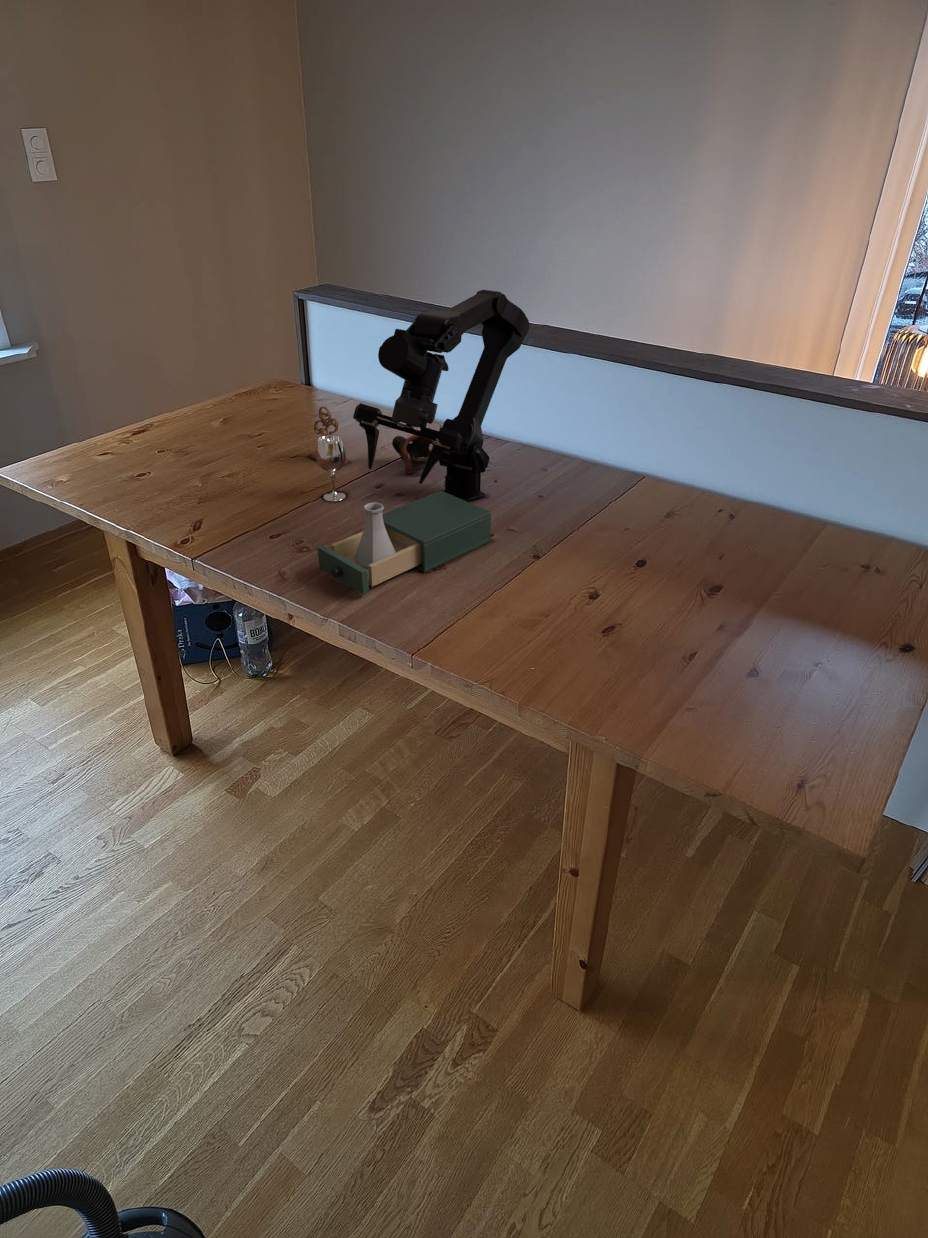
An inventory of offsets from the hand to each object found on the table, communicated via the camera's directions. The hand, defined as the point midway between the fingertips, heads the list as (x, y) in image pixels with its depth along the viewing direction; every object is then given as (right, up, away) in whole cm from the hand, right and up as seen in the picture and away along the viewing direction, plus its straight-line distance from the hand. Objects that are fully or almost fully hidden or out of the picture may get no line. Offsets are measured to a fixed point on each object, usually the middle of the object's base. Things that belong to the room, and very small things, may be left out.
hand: (395, 476), depth 140 cm
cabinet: (+7, -11, +5) cm, 14 cm away
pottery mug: (+2, +8, +35) cm, 36 cm away
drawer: (-3, -16, -4) cm, 17 cm away
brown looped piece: (-18, +10, +38) cm, 43 cm away
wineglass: (-14, 0, +22) cm, 26 cm away
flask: (-3, -15, -4) cm, 16 cm away
